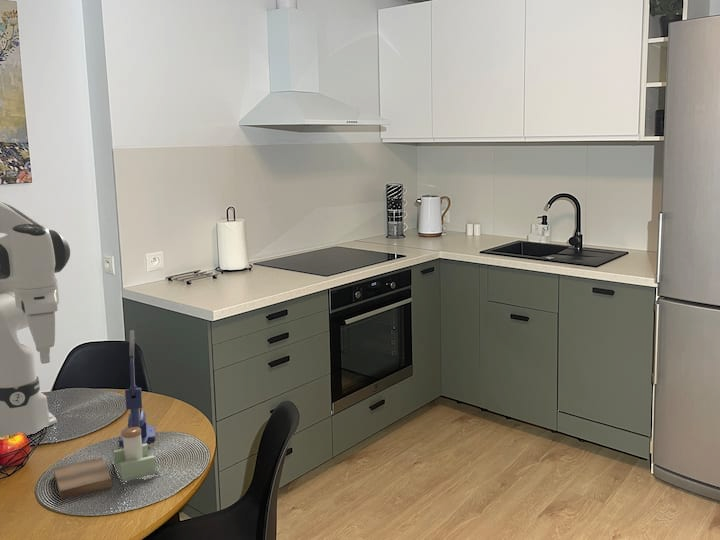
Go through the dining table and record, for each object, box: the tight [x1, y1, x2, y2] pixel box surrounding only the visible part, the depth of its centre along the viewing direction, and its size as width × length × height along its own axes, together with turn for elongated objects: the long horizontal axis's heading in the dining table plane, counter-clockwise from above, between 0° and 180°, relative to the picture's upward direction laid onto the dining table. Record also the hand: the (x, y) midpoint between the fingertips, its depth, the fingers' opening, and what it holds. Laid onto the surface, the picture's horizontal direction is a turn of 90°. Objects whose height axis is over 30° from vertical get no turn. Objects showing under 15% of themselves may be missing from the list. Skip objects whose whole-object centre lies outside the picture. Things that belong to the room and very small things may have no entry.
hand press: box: [120, 330, 156, 446], centre depth 181 cm, size 19×9×28 cm, turn 17°
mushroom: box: [121, 427, 143, 462], centre depth 166 cm, size 4×4×9 cm
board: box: [53, 457, 113, 501], centre depth 161 cm, size 12×11×2 cm
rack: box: [113, 443, 158, 482], centre depth 166 cm, size 10×8×4 cm
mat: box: [118, 468, 162, 488], centre depth 167 cm, size 14×9×1 cm, turn 30°
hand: (43, 356), depth 155 cm, fingers open, 8 cm apart
